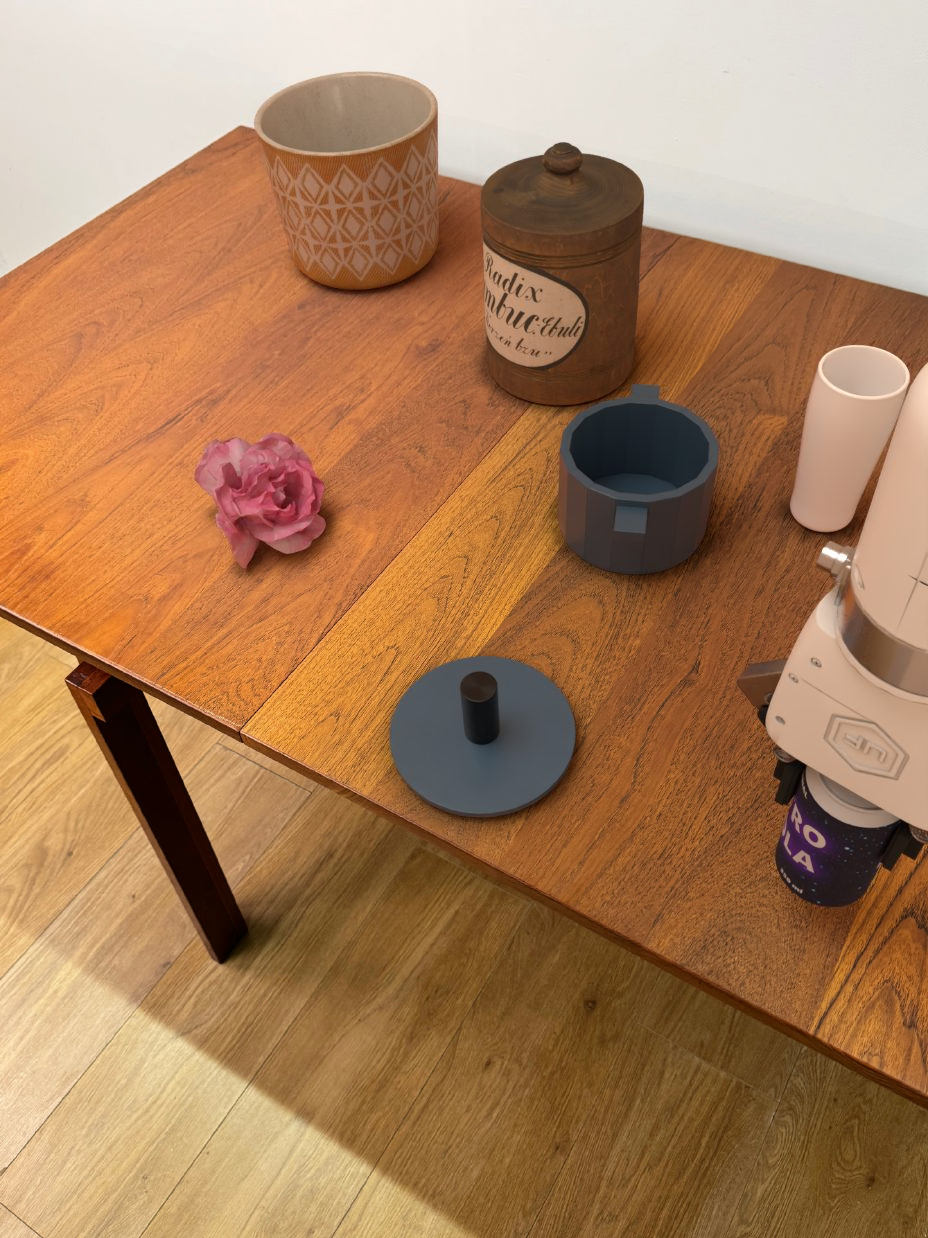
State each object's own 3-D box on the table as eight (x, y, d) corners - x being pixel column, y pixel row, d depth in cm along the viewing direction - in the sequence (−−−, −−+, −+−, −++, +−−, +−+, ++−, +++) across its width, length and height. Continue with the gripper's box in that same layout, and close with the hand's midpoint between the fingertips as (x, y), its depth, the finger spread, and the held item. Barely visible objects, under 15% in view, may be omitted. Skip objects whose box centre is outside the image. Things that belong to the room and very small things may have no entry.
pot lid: (584, 675, 77) (588, 620, 72) (563, 834, 68) (565, 785, 63) (412, 655, 79) (404, 601, 74) (371, 807, 70) (358, 757, 65)
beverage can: (806, 811, 64) (846, 706, 55) (887, 867, 61) (943, 767, 52) (754, 871, 62) (786, 772, 53) (835, 933, 59) (884, 840, 50)
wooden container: (457, 361, 103) (442, 148, 86) (560, 302, 109) (565, 92, 92) (558, 428, 95) (563, 209, 78) (663, 361, 101) (689, 143, 84)
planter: (446, 297, 110) (434, 148, 98) (274, 304, 111) (240, 158, 99) (449, 208, 123) (439, 65, 110) (294, 215, 124) (266, 75, 111)
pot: (708, 458, 92) (721, 382, 85) (701, 606, 80) (715, 533, 74) (571, 447, 94) (573, 372, 87) (545, 590, 82) (546, 517, 76)
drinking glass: (869, 540, 84) (922, 397, 72) (788, 542, 84) (828, 400, 73) (850, 485, 88) (898, 341, 77) (773, 487, 89) (808, 345, 77)
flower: (345, 540, 92) (349, 518, 82) (245, 585, 90) (237, 568, 80) (291, 429, 92) (289, 394, 82) (191, 472, 90) (176, 442, 81)
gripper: (709, 578, 45) (676, 781, 59) (1115, 785, 37) (965, 963, 51) (793, 483, 48) (743, 697, 62) (1182, 655, 40) (1024, 856, 54)
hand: (844, 815), depth 56 cm, fingers closed on beverage can, 5 cm apart
